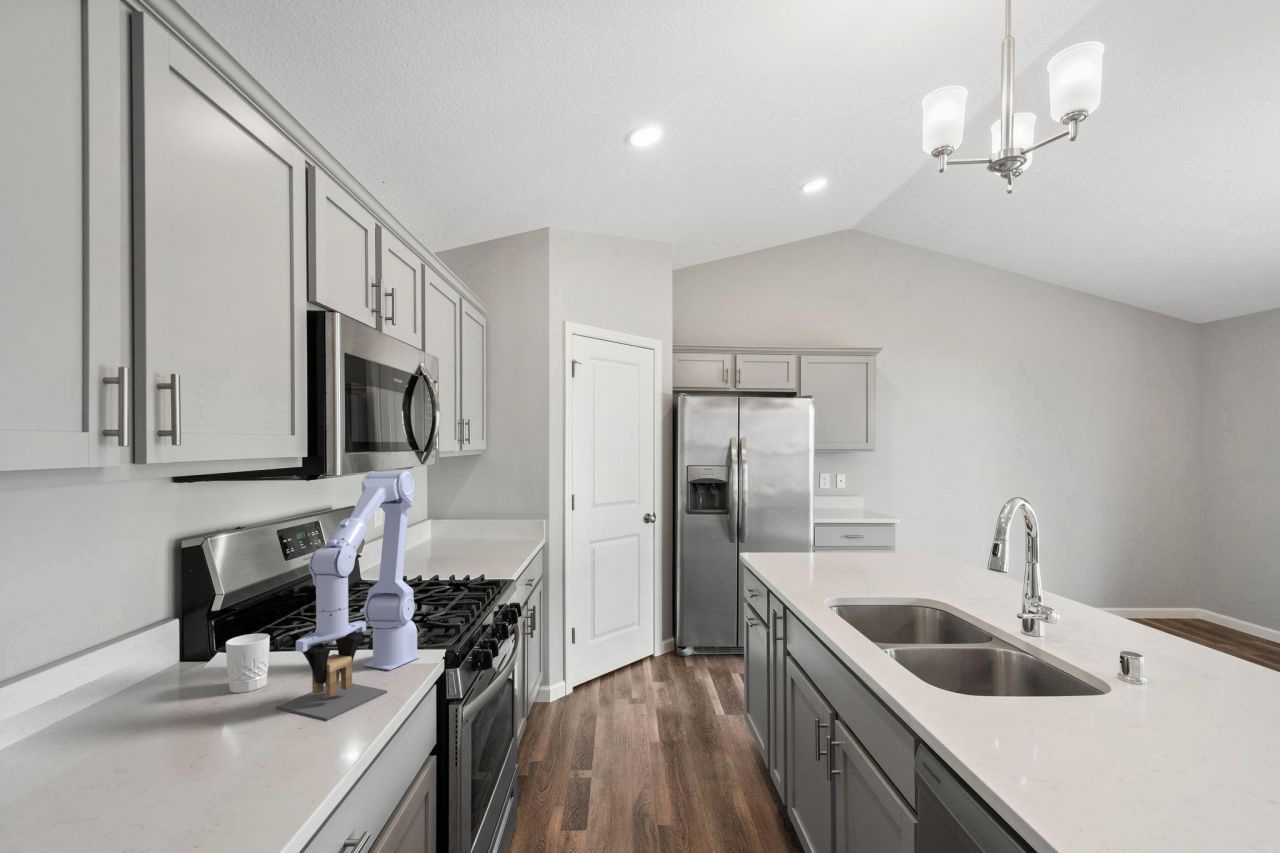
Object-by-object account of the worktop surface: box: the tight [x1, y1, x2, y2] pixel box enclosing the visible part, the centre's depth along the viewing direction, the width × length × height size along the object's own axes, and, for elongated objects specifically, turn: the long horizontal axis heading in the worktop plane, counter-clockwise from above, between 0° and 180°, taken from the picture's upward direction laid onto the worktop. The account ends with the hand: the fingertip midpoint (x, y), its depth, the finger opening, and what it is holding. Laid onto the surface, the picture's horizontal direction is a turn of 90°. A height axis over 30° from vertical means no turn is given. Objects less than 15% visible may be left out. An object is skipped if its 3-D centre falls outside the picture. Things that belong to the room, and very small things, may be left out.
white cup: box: [225, 633, 271, 694], centre depth 133 cm, size 8×8×10 cm
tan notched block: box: [311, 653, 353, 696], centre depth 125 cm, size 5×5×6 cm
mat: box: [276, 680, 388, 721], centre depth 125 cm, size 14×14×1 cm
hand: (332, 677), depth 125 cm, fingers closed on tan notched block, 5 cm apart
